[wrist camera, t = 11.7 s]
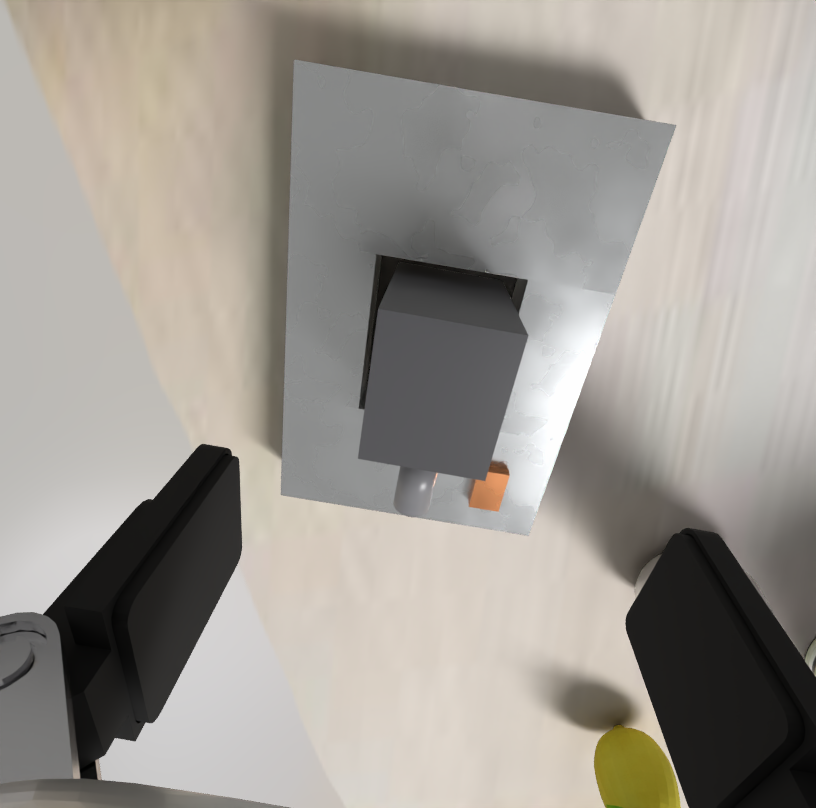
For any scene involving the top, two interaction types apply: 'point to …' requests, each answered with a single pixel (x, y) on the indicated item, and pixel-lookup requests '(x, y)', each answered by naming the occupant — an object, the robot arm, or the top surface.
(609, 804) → the lemon
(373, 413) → the plug
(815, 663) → the coffee can
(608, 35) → the top surface
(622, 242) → the socket plate
